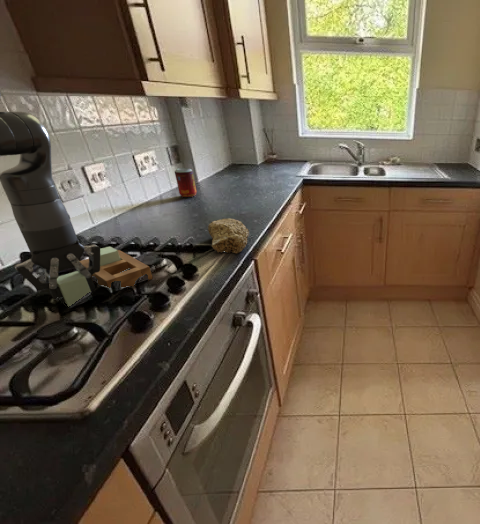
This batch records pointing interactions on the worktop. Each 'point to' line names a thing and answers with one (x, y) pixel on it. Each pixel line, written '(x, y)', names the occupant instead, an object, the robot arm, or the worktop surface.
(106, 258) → the pad
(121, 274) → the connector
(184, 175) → the soda can
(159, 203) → the worktop surface
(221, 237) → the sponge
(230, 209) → the worktop surface
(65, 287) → the pale green block
